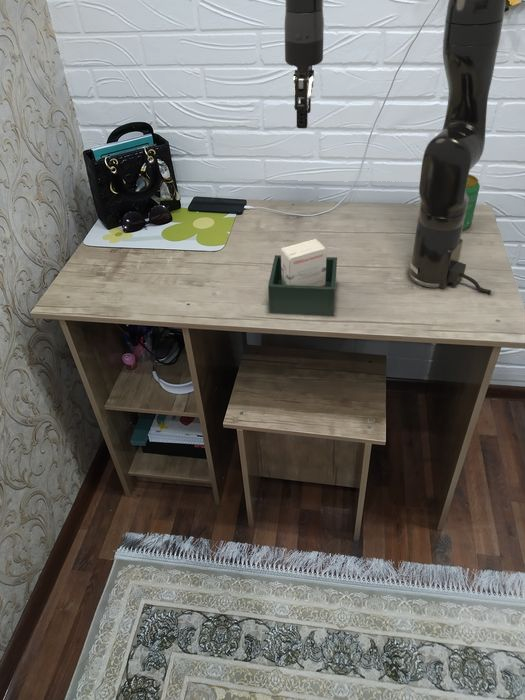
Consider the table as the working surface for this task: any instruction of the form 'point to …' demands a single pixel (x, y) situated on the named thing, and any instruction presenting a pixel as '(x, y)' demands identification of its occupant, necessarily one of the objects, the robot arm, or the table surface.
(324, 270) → the ink box
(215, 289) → the table surface
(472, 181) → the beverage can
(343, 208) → the table surface
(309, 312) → the bin
